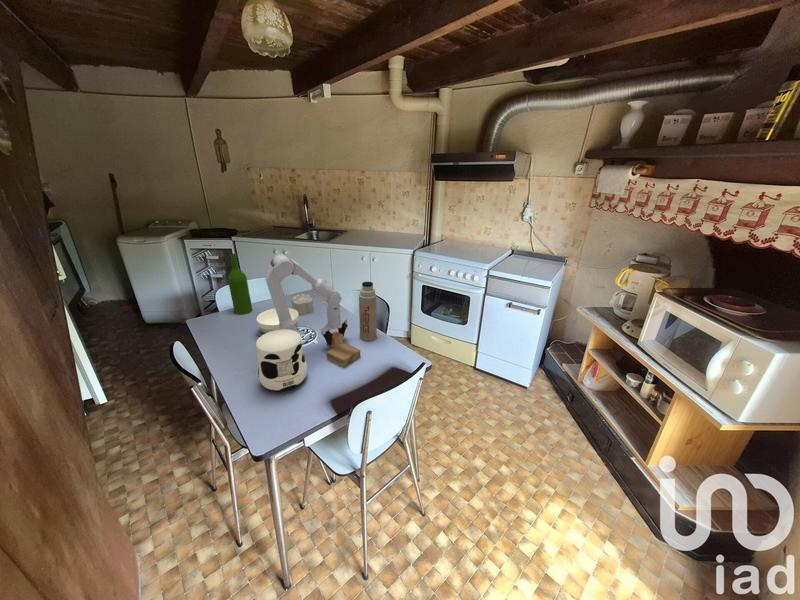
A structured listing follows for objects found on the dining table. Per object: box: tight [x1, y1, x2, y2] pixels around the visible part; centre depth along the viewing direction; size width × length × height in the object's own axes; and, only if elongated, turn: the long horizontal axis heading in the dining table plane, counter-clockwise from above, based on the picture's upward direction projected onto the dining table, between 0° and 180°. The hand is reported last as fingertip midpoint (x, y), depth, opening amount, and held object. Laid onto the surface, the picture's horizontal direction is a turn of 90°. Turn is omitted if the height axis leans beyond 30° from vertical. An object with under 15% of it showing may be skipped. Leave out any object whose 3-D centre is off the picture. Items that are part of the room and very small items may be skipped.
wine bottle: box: [227, 253, 253, 316], centre depth 164 cm, size 9×9×32 cm
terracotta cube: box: [330, 331, 344, 348], centre depth 142 cm, size 5×5×5 cm
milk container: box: [255, 329, 308, 392], centre depth 114 cm, size 17×17×18 cm
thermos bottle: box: [358, 281, 377, 342], centre depth 144 cm, size 8×8×28 cm
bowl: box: [256, 307, 299, 334], centre depth 150 cm, size 19×19×9 cm
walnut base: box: [326, 341, 361, 369], centre depth 132 cm, size 10×10×4 cm
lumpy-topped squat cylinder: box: [291, 293, 314, 317], centre depth 173 cm, size 10×13×9 cm
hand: (335, 341), depth 142 cm, fingers open, 7 cm apart
